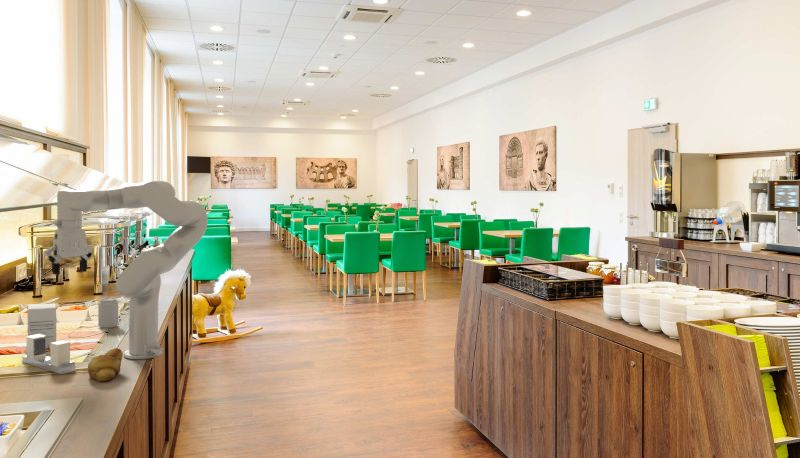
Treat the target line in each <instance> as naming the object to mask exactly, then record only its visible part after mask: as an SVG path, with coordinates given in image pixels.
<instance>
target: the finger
mask: <svg viewBox="0 0 800 458" xmlns="http://www.w3.org/2000/svg"><path fill="white" fill-rule="evenodd" d="M49 354H50V355H49V357H50V364H51V365H54V366H59V364H64V363H68V362H71V342H70V341H67V340H63V339H61V340H58V341H57V340H56V342H52V343H50V348H49Z"/></svg>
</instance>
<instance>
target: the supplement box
mask: <svg viewBox="0 0 800 458" xmlns="http://www.w3.org/2000/svg"><path fill="white" fill-rule="evenodd" d="M36 334H41V335H45V336H46V349H48V348H47V347H50V343H52V342H57V304H56V302H52V303H34V304H28V306H27V336H31V335H36Z"/></svg>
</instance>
